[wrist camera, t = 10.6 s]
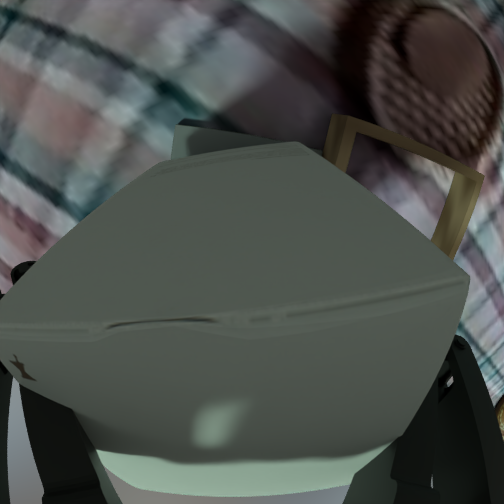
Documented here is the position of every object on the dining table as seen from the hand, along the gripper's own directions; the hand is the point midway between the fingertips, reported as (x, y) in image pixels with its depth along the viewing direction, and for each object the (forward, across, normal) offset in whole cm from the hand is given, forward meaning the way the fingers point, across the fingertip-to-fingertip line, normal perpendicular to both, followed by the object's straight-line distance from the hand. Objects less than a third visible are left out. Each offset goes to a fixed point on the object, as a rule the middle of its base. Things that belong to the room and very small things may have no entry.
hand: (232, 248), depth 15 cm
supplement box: (+4, 0, 0) cm, 4 cm away
